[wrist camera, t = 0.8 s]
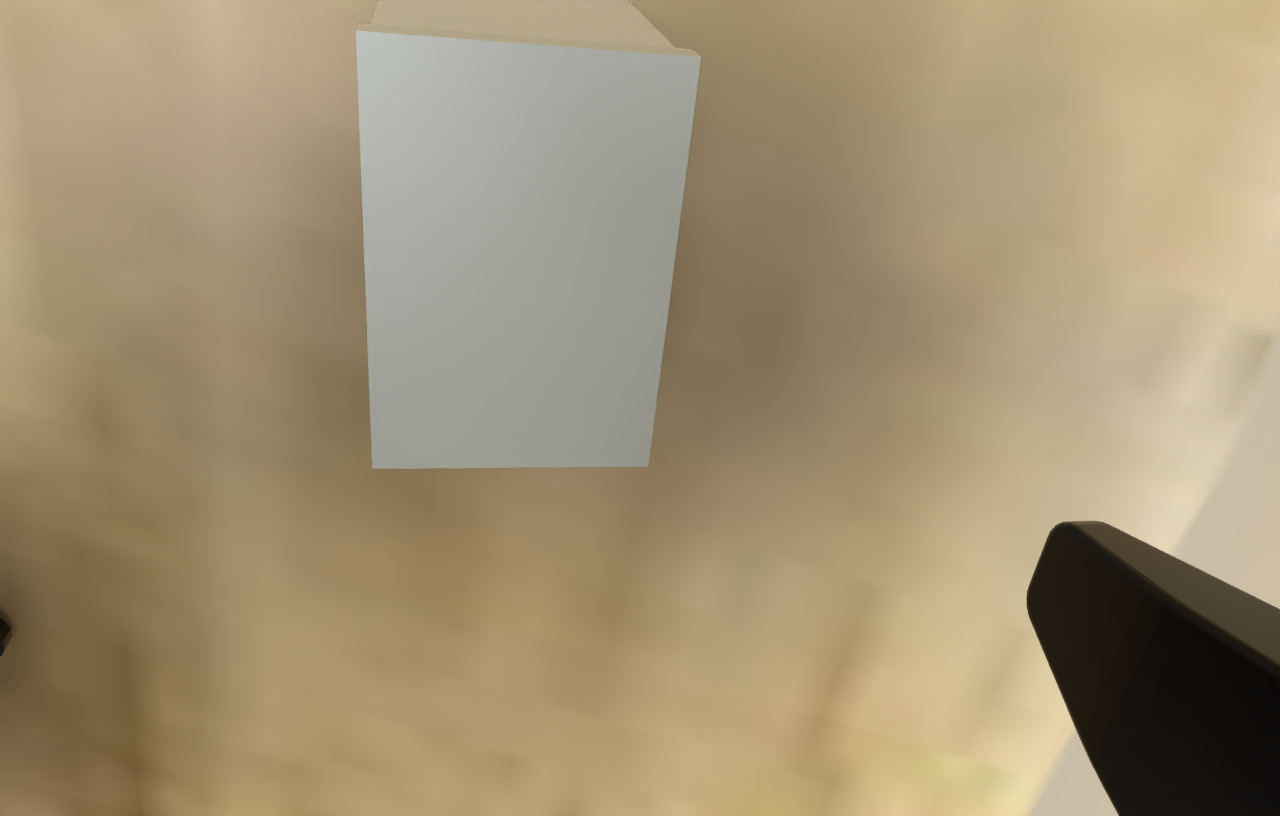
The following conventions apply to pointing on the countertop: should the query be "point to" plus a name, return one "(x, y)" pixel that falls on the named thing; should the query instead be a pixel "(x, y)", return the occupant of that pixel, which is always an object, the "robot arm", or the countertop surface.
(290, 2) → the countertop surface
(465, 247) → the light grey block
